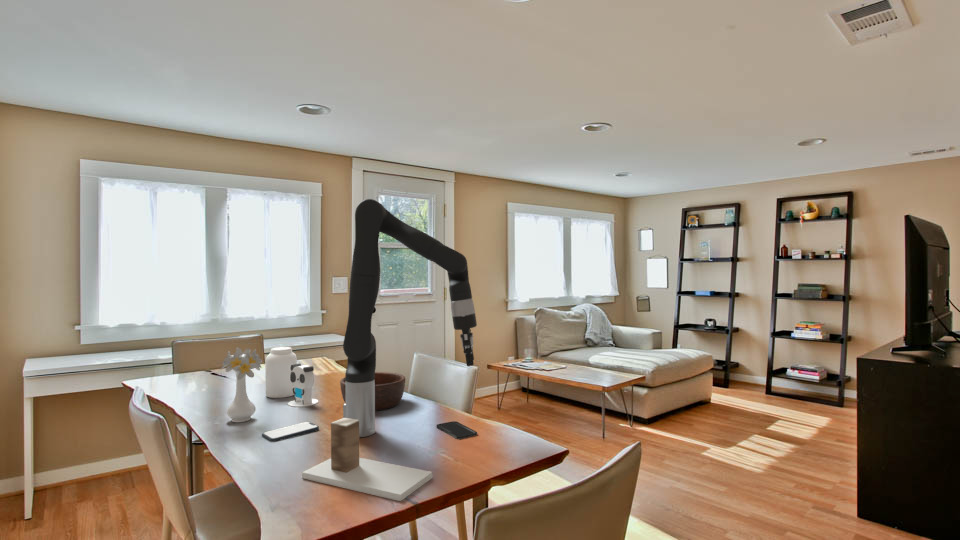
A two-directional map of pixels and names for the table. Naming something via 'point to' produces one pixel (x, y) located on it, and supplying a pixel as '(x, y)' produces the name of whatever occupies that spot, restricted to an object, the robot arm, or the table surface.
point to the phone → (456, 430)
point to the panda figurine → (302, 385)
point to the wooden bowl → (384, 389)
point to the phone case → (290, 431)
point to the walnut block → (344, 444)
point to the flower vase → (241, 383)
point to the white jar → (279, 372)
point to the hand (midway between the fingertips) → (470, 363)
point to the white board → (372, 478)
